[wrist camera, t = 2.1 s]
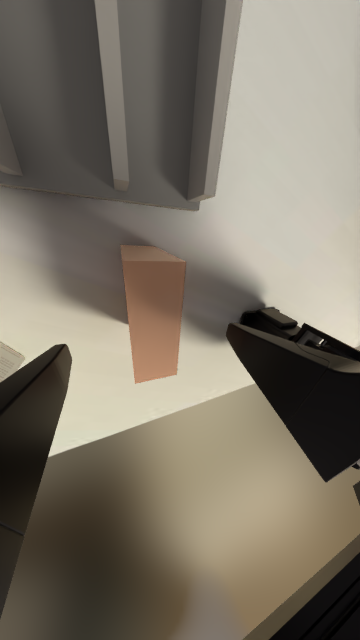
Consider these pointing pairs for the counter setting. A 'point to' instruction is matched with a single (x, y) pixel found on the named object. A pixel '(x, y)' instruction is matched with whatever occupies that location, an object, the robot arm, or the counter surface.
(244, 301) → the counter surface
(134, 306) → the tall clay brick
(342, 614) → the robot arm
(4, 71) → the dish rack
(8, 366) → the supplement box
